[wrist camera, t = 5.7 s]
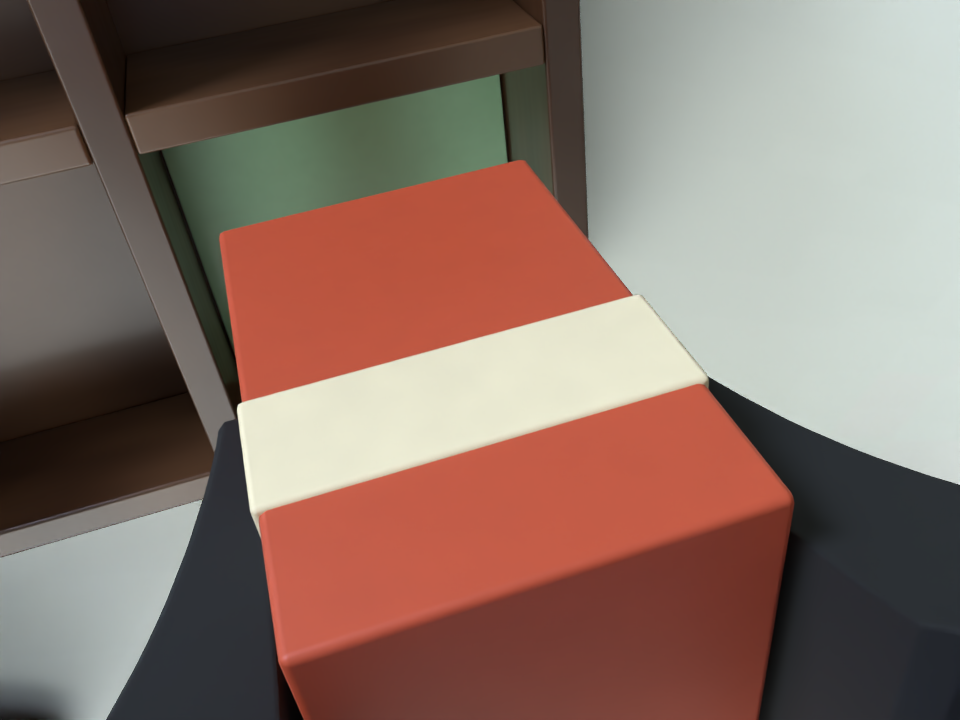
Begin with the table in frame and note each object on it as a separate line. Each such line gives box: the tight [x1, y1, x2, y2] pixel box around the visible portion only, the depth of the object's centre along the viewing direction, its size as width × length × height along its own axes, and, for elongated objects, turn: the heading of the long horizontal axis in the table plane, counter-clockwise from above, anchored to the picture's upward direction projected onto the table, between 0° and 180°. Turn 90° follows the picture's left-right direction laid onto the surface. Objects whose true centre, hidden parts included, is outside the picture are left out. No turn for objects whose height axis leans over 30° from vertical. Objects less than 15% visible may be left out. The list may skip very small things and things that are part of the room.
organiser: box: [0, 0, 588, 558], centre depth 16 cm, size 16×16×4 cm
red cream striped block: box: [219, 160, 794, 720], centre depth 11 cm, size 4×6×7 cm
